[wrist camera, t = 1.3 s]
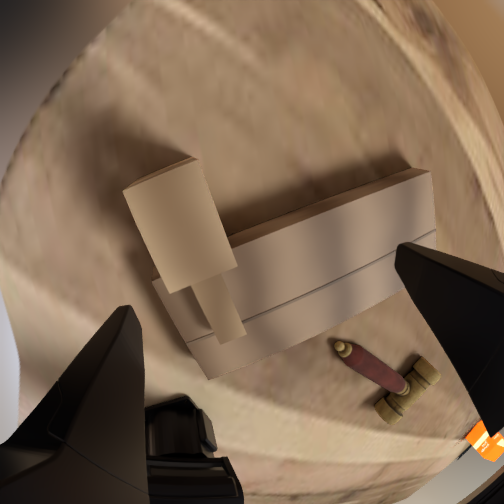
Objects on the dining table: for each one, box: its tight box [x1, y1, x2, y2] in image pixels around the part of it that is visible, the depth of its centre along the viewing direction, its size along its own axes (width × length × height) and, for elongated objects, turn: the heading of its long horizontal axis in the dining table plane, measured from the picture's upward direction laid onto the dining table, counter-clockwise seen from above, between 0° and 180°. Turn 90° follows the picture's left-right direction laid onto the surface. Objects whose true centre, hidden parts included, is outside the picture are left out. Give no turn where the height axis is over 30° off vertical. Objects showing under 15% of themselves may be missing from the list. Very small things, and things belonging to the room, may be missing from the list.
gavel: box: [334, 341, 441, 425], centre depth 31 cm, size 21×5×10 cm
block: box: [123, 157, 247, 345], centre depth 18 cm, size 4×12×6 cm, turn 18°
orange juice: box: [466, 421, 504, 461], centre depth 65 cm, size 8×9×20 cm
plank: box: [151, 168, 436, 380], centre depth 23 cm, size 24×10×2 cm, turn 108°
